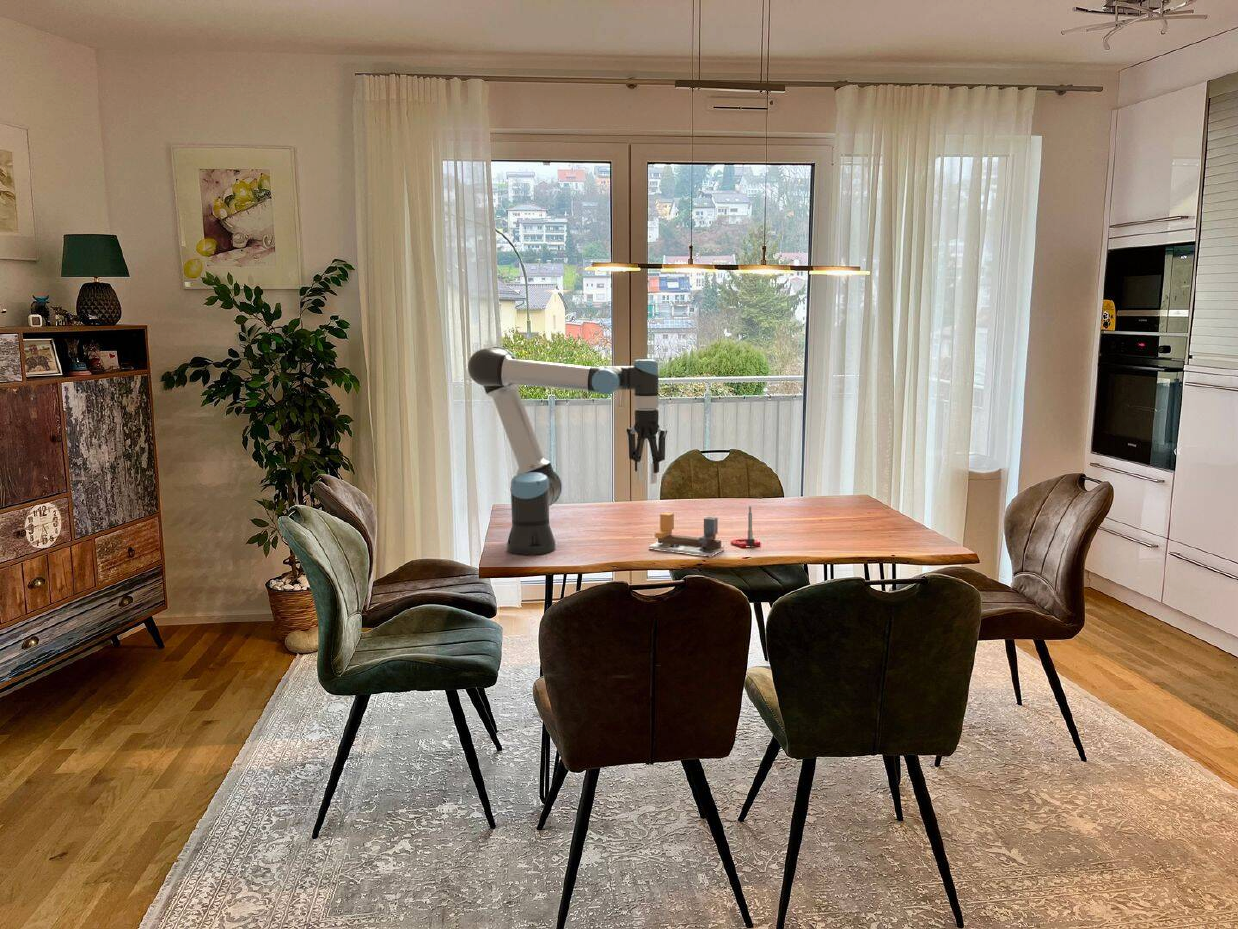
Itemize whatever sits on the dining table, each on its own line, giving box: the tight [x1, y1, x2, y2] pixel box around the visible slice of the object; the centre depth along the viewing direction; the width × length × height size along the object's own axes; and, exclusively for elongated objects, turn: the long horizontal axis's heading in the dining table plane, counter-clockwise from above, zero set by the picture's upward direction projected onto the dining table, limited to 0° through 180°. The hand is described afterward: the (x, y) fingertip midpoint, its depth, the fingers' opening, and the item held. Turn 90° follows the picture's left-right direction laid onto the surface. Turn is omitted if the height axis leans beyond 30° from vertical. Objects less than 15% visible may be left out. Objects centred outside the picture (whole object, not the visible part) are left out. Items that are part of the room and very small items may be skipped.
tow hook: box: [730, 506, 762, 548], centre depth 295 cm, size 8×13×9 cm
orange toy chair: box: [654, 512, 675, 543], centre depth 293 cm, size 8×3×8 cm, turn 151°
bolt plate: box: [647, 534, 725, 557], centre depth 289 cm, size 10×21×3 cm, turn 61°
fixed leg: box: [698, 516, 719, 549], centre depth 286 cm, size 8×3×8 cm, turn 151°
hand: (647, 482), depth 296 cm, fingers open, 4 cm apart
